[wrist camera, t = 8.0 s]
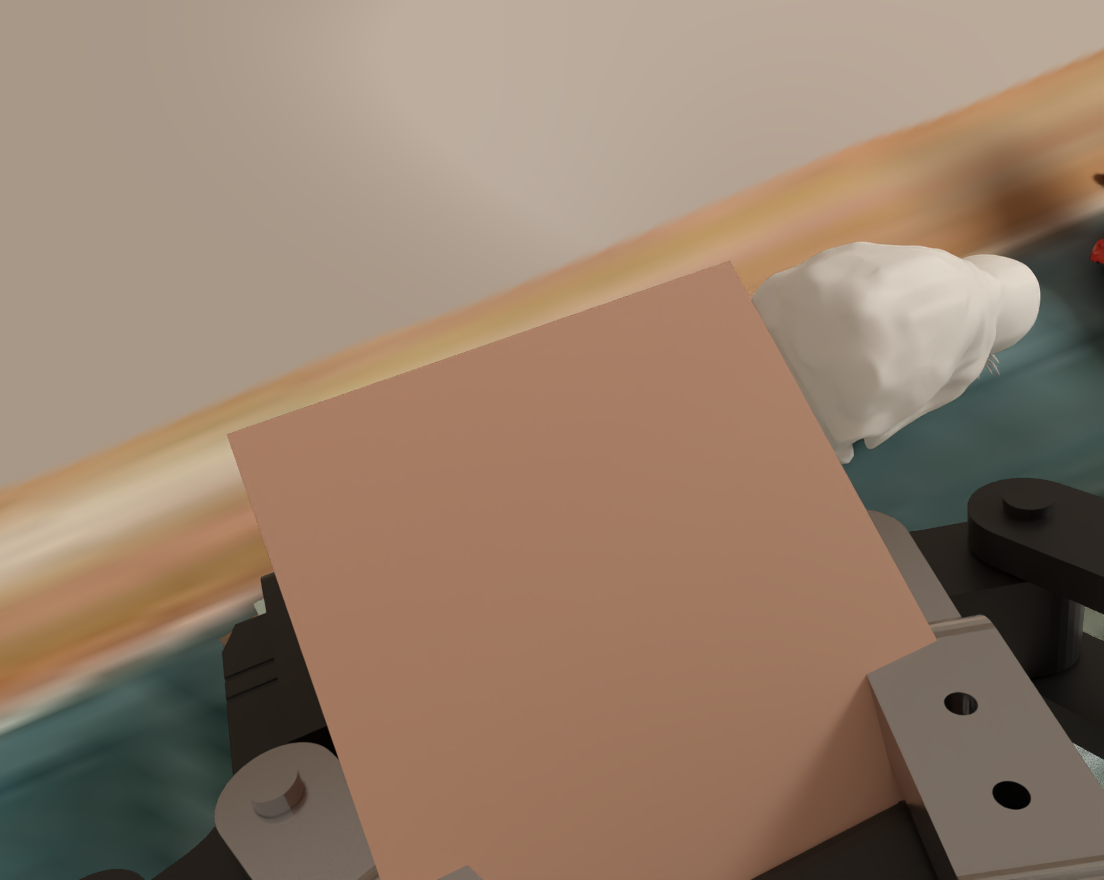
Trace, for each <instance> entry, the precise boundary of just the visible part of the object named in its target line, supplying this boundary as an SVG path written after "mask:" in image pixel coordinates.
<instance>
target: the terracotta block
mask: <svg viewBox="0 0 1104 880" xmlns="http://www.w3.org/2000/svg"><path fill="white" fill-rule="evenodd" d="M227 436H228V439H229V442H230V445H231V448H232V451H233V454H234V456H235V459H236V462H237V465H238V468H239V471H240V474H241V477H242V480H243V483H244V485H245V488H246V491H247V494H248V497H249V500H250V503H251V506H252V509H253V512H254V514H255V517H256V520H257V523H258V526H259V529H260V532H261V535H262V538H263V541H264V543H265V546H266V549H267V552H268V555H269V558H270V561H271V564H272V567H273V570H274V572H275V575H276V578H277V581H278V584H279V587H280V590H281V593H282V596H283V599H284V601H285V604H286V607H287V610H288V613H289V616H290V619H291V622H292V625H293V628H294V630H295V633H296V636H297V639H298V642H299V645H300V648H301V651H302V654H303V657H304V659H305V662H306V665H307V668H308V671H309V674H310V677H311V680H312V683H313V686H314V688H315V691H316V694H317V697H318V700H319V703H320V706H321V709H322V712H323V715H324V717H325V720H326V723H327V726H328V729H329V732H330V735H331V738H332V741H333V744H334V746H335V749H336V752H337V755H338V758H339V761H340V764H341V767H342V770H343V773H344V775H345V778H346V781H347V784H348V787H349V790H350V793H351V796H352V799H353V802H354V804H355V807H356V810H357V813H358V816H359V819H360V822H361V825H362V828H363V831H364V833H365V836H366V839H367V842H368V845H369V848H370V851H371V854H372V857H373V860H374V862H375V865H376V868H377V871H378V874H379V877H380V880H437V879H439V878H441V877H443V876H445V875H448V874H450V873H452V872H454V871H456V870H458V869H460V868H462V867H464V866H466V865H468V866H469V867H470V868H471V869H472V870H473V871H474V872H475V873H476V874H478V875H479V876H480V877H481V878H482V879H483V880H751V879H753V878H755V877H757V876H759V875H761V874H763V873H764V872H766V871H768V870H770V869H772V868H774V867H776V866H778V865H780V864H782V863H784V862H786V861H788V860H789V859H791V858H793V857H795V856H797V855H799V854H801V853H803V852H805V851H807V850H809V849H811V848H813V847H815V846H816V845H818V844H820V843H822V842H824V841H826V840H828V839H830V838H832V837H834V836H836V835H838V834H840V833H841V832H843V831H845V830H847V829H849V828H851V827H853V826H855V825H857V824H859V823H861V822H863V821H865V820H866V819H868V818H870V817H872V816H874V815H876V814H878V813H880V812H882V811H884V810H886V809H888V808H890V807H892V806H893V805H895V804H897V803H899V802H898V801H902V800H905V799H904V797H903V795H902V792H901V790H900V788H899V785H898V783H897V781H896V778H895V776H894V773H893V771H892V769H891V766H890V764H889V760H888V756H887V752H886V748H885V744H884V740H883V737H882V733H881V729H880V725H879V721H878V717H877V713H876V709H875V706H874V702H873V698H872V694H871V690H870V686H869V682H868V678H867V675H866V674H868V673H870V672H872V671H875V670H877V669H879V668H881V667H883V666H885V665H887V664H889V663H891V662H893V661H895V660H898V659H900V658H902V657H904V656H906V655H908V654H910V653H912V652H914V651H916V650H919V649H921V648H923V647H925V646H927V645H929V644H931V643H933V642H935V641H937V639H936V637H935V635H934V633H933V632H932V630H931V628H930V626H929V624H928V622H927V621H926V619H925V617H924V615H923V613H922V611H921V610H920V608H919V606H918V604H917V602H916V600H915V599H914V597H913V595H912V593H911V591H910V589H909V588H908V586H907V584H906V582H905V580H904V578H903V577H902V575H901V573H900V571H899V569H898V568H897V566H896V564H895V562H894V560H893V558H892V557H891V555H890V553H889V551H888V549H887V547H886V546H885V544H884V542H883V540H882V538H881V536H880V535H879V533H878V531H877V529H876V527H875V525H874V524H873V522H872V520H871V518H870V516H869V514H868V513H867V511H866V509H865V507H864V505H863V503H862V502H861V500H860V498H859V496H858V494H857V492H856V491H855V489H854V487H853V485H852V483H851V482H850V480H849V478H848V476H847V474H846V472H845V471H844V469H843V467H842V465H841V463H840V461H839V460H838V458H837V456H836V454H835V452H834V450H833V449H832V447H831V445H830V443H829V441H828V439H827V438H826V436H825V434H824V432H823V430H822V428H821V427H820V425H819V423H818V421H817V419H816V417H815V416H814V414H813V412H812V410H811V408H810V407H809V405H808V403H807V401H806V399H805V397H804V396H803V394H802V392H801V390H800V388H799V386H798V385H797V383H796V381H795V379H794V377H793V375H792V374H791V372H790V370H789V368H788V366H787V364H786V363H785V361H784V359H783V357H782V355H781V353H780V352H779V350H778V348H777V346H776V344H775V342H774V341H773V339H772V337H771V335H770V333H769V331H768V330H767V328H766V326H765V324H764V322H763V321H762V319H761V317H760V315H759V313H758V311H757V310H756V308H755V306H754V304H753V302H752V300H751V299H750V297H749V295H748V293H747V291H746V289H745V288H744V286H743V284H742V282H741V280H740V278H739V277H738V275H737V273H736V271H735V269H734V267H733V266H732V264H731V262H730V261H728V262H725V263H722V264H719V265H716V266H713V267H710V268H707V269H704V270H701V271H699V272H696V273H693V274H690V275H687V276H684V277H681V278H678V279H675V280H673V281H670V282H667V283H664V284H661V285H658V286H655V287H652V288H649V289H646V290H644V291H641V292H638V293H635V294H632V295H629V296H626V297H623V298H620V299H618V300H615V301H612V302H609V303H606V304H603V305H600V306H597V307H594V308H591V309H589V310H586V311H583V312H580V313H577V314H574V315H571V316H568V317H565V318H562V319H560V320H557V321H554V322H551V323H548V324H545V325H542V326H539V327H536V328H534V329H531V330H528V331H525V332H522V333H519V334H516V335H513V336H510V337H507V338H505V339H502V340H499V341H496V342H493V343H490V344H487V345H484V346H481V347H479V348H476V349H473V350H470V351H467V352H464V353H461V354H458V355H455V356H452V357H450V358H447V359H444V360H441V361H438V362H435V363H432V364H429V365H426V366H423V367H421V368H418V369H415V370H412V371H409V372H406V373H403V374H400V375H397V376H395V377H392V378H389V379H386V380H383V381H380V382H377V383H374V384H371V385H368V386H366V387H363V388H360V389H357V390H354V391H351V392H348V393H345V394H342V395H340V396H337V397H334V398H331V399H328V400H325V401H322V402H319V403H316V404H313V405H311V406H308V407H305V408H302V409H299V410H296V411H293V412H290V413H287V414H284V415H282V416H279V417H276V418H273V419H270V420H267V421H264V422H261V423H258V424H256V425H253V426H250V427H247V428H244V429H241V430H238V431H235V432H232V433H229V434H227Z"/></svg>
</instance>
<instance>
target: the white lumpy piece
mask: <svg viewBox="0 0 1104 880" xmlns="http://www.w3.org/2000/svg"><path fill="white" fill-rule="evenodd" d="M752 302H753V304H754V306H755V308H756V310H757V311H758V313H759V315H760V317H761V319H762V321H763V322H764V324H765V326H766V328H767V330H768V331H769V333H770V335H771V337H772V339H773V341H774V342H775V344H776V346H777V348H778V350H779V352H780V353H781V355H782V357H783V359H784V361H785V363H786V364H787V366H788V368H789V370H790V372H791V374H792V375H793V377H794V379H795V381H796V383H797V385H798V386H799V388H800V390H801V392H802V394H803V396H804V397H805V399H806V401H807V403H808V405H809V407H810V408H811V410H812V412H813V414H814V416H815V417H816V419H817V421H818V423H819V425H820V427H821V428H822V430H823V432H824V434H825V436H826V438H827V439H828V441H829V443H830V445H831V447H832V449H833V450H834V452H835V454H836V456H837V458H838V460H839V461H840V463H841V464H846V463H849V462H850V461H851V459H852V458H853V455H854V452H853V446H852V443H854V442H855V441H857V440H859V439H862V438H864V442H865V445H866V447H867V448H868V449H873V448H875V447H876V446H878V445H879V444H881V443H882V442H884V441H885V440H887V439H888V438H889V437H890V436H892V435H893V434H894V433H896V432H897V431H898V430H900V429H902V428H903V427H904V426H906V425H908V424H909V423H911V422H912V421H914V420H916V419H917V418H919V417H920V416H922V415H924V414H926V413H928V412H930V411H932V410H935V409H937V408H939V407H941V406H943V405H945V404H947V403H949V402H951V401H953V400H954V399H956V398H958V397H959V396H960V395H961V394H962V393H963V392H964V391H965V390H966V388H967V387H968V386H969V385H970V384H971V383H972V382H973V381H974V380H975V379H976V378H977V377H978V379H979V374H980V373H981V372H982V370H983V368H984V366H986V367H987V368H988V370H989V371H990V372H991V374H992V375H993V373H992V371H991V369H990V367H989V365H988V364H987V362H989V363H990V364H991V365H992V366H993V368H994V369H995V370H996V371H997V372H998V374H999V371H998V369H997V367H996V365H995V364H994V363H993V361H991V359H989V357H988V356H991V357H992V358H993V359H994V360H995V361H997V362H998V363H999V361H998V359H997V358H996V357H995V356H994V354H995V353H998V352H1001V351H1003V350H1005V349H1007V348H1009V347H1011V346H1012V345H1014V344H1015V343H1016V342H1018V341H1019V340H1020V339H1021V338H1022V337H1024V336H1025V335H1026V334H1027V332H1028V331H1029V330H1030V329H1031V327H1032V326H1033V324H1034V323H1035V320H1036V318H1037V315H1038V311H1039V305H1040V288H1039V283H1038V281H1037V279H1036V277H1035V275H1034V274H1033V272H1032V271H1031V270H1030V269H1029V268H1028V267H1027V266H1026V265H1025V264H1023V263H1021V262H1019V261H1016V260H1014V259H1011V258H1007V257H1003V256H998V255H989V254H982V255H973V256H968V257H965V258H962V259H960V258H959V257H956V256H954V255H952V254H950V253H948V252H946V251H944V250H941V249H936V248H928V247H924V246H897V245H884V244H875V243H869V242H854V243H850V244H846V245H842V246H839V247H834V248H830V249H827V250H825V251H822V252H820V253H818V254H816V255H814V256H813V257H811V258H809V259H808V260H806V261H804V262H803V263H801V264H800V265H798V266H795V267H793V268H790V269H787V270H785V271H782V272H778V273H775V274H774V275H772V276H770V277H769V278H768V279H767V280H766V281H764V283H763V284H762V285H761V286H760V287H759V288H758V290H757V291H756V292H755V294H754V295H753V297H752ZM999 376H1000V375H999Z"/></svg>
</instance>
